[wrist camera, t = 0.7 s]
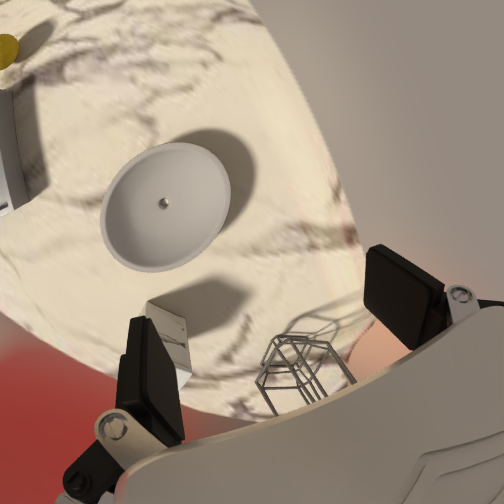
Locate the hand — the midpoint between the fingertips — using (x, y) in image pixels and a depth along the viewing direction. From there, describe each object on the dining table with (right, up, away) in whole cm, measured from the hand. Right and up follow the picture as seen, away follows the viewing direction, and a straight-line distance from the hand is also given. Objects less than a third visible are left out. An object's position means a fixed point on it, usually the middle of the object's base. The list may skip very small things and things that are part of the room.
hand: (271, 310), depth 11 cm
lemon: (-36, +31, +8) cm, 48 cm away
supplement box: (-16, -10, +31) cm, 37 cm away
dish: (-13, +9, +25) cm, 29 cm away
